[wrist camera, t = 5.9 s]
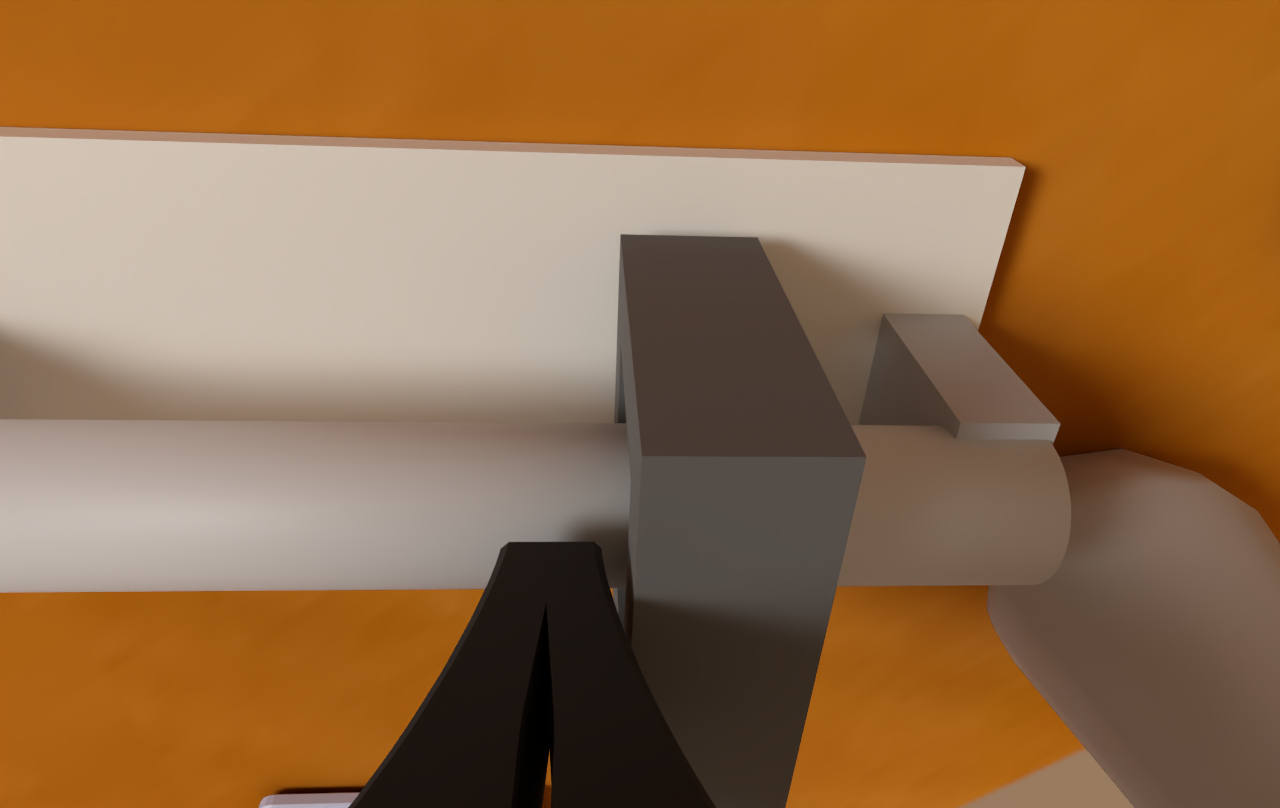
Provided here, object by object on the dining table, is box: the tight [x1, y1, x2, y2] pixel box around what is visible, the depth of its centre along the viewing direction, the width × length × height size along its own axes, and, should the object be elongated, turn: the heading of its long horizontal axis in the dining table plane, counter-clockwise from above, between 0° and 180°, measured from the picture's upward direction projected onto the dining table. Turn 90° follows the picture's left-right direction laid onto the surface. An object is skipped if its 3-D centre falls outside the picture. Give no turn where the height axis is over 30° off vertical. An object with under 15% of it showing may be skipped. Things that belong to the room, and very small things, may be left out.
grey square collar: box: [613, 234, 867, 808], centre depth 13 cm, size 2×7×7 cm, turn 177°
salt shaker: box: [987, 448, 1280, 808], centre depth 14 cm, size 6×6×13 cm
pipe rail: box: [0, 127, 1071, 592], centre depth 14 cm, size 22×9×6 cm, turn 87°
